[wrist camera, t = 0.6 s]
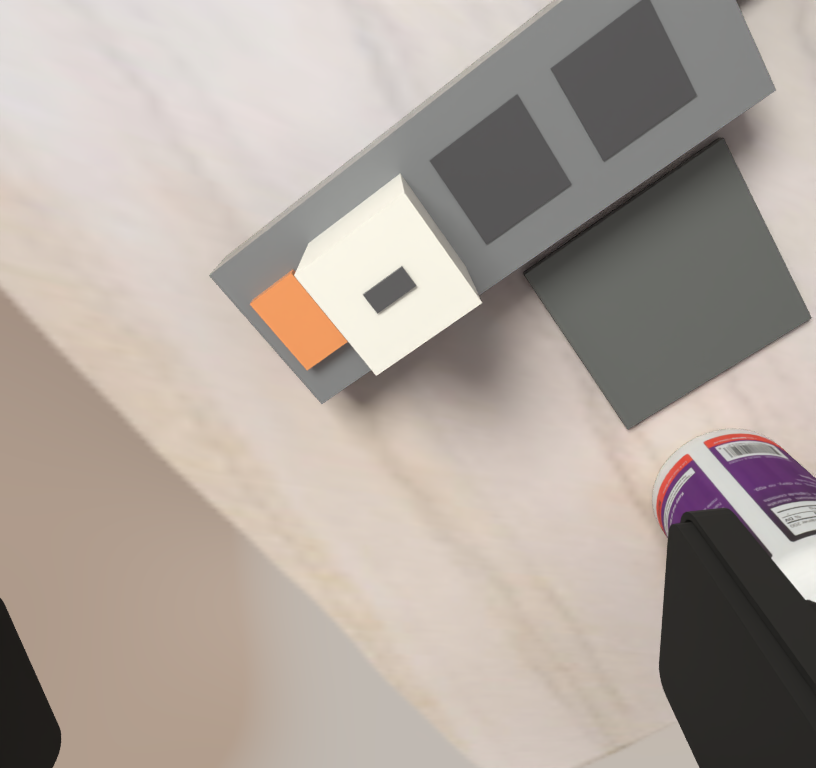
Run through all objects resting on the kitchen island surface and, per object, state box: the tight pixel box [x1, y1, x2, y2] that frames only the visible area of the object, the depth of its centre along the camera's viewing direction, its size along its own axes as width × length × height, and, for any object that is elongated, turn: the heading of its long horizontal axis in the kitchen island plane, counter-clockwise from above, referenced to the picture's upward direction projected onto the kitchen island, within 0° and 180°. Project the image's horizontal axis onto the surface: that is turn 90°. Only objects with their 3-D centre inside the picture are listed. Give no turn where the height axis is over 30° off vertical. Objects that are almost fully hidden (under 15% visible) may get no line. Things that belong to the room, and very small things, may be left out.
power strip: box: [209, 0, 776, 404], centre depth 29 cm, size 36×8×4 cm, turn 126°
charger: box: [294, 174, 482, 376], centre depth 27 cm, size 5×5×6 cm
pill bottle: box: [652, 429, 816, 603], centre depth 33 cm, size 8×8×14 cm
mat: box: [523, 138, 811, 429], centre depth 35 cm, size 11×11×1 cm
